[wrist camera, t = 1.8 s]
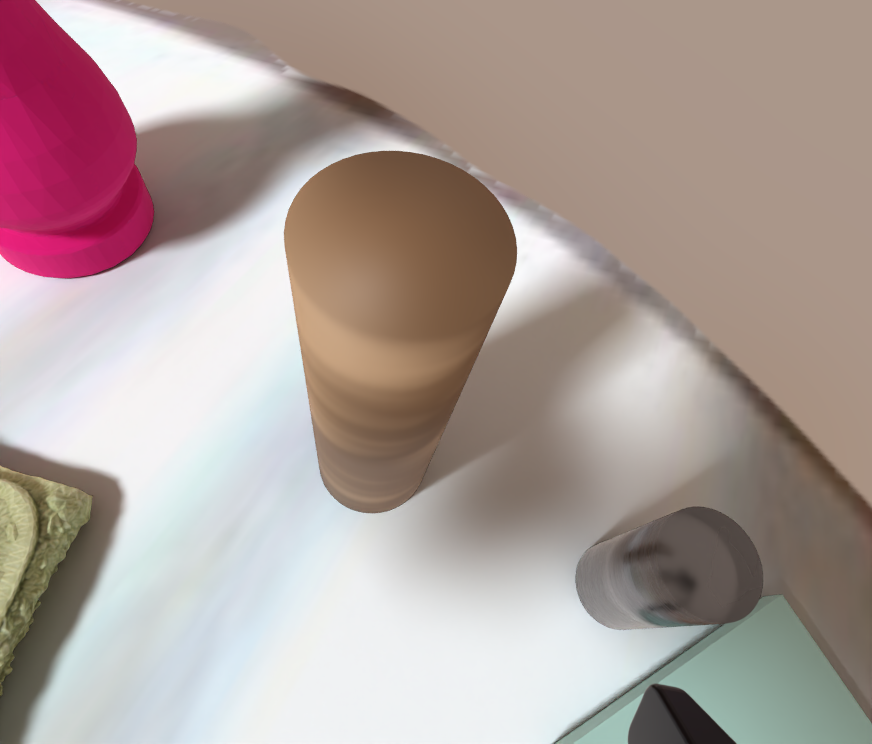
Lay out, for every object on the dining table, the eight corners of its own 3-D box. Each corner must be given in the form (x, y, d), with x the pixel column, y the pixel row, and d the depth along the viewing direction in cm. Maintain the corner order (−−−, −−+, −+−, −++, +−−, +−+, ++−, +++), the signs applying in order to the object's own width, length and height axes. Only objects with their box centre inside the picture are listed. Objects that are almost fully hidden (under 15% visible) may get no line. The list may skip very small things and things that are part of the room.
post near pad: (606, 646, 19) (704, 646, 14) (560, 565, 20) (635, 536, 15) (670, 603, 20) (784, 588, 15) (623, 528, 21) (715, 489, 16)
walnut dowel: (345, 532, 20) (342, 373, 8) (302, 435, 21) (248, 182, 10) (443, 484, 21) (559, 289, 10) (397, 396, 22) (450, 130, 11)
